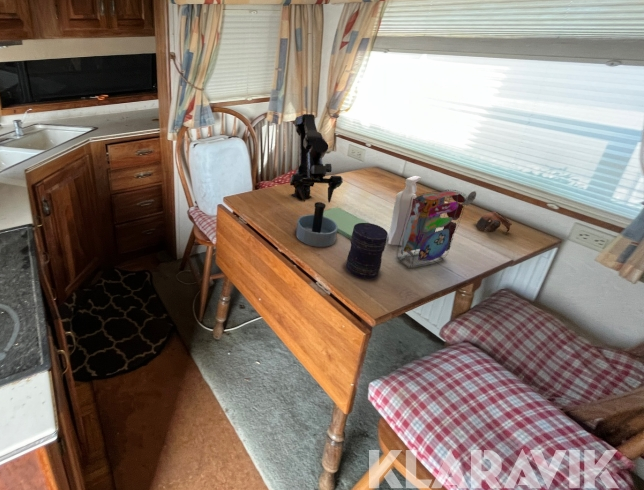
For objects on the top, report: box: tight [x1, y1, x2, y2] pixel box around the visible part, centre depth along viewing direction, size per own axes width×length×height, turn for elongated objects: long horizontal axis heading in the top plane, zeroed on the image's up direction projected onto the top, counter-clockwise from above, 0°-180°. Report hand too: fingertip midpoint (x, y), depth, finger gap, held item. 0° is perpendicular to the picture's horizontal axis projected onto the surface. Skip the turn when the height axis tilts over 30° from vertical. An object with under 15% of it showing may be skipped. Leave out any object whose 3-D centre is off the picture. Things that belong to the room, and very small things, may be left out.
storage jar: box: [345, 222, 389, 281], centre depth 113 cm, size 10×10×18 cm
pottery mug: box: [475, 210, 513, 234], centre depth 136 cm, size 12×10×8 cm
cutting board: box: [323, 206, 370, 240], centre depth 143 cm, size 20×14×2 cm
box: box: [395, 189, 477, 269], centre depth 117 cm, size 25×6×24 cm, turn 108°
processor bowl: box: [295, 214, 338, 248], centre depth 134 cm, size 14×14×6 cm
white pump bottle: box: [387, 175, 422, 247], centre depth 126 cm, size 7×12×25 cm, turn 126°
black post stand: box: [305, 201, 327, 233], centre depth 132 cm, size 9×8×13 cm
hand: (316, 201), depth 135 cm, fingers open, 9 cm apart
